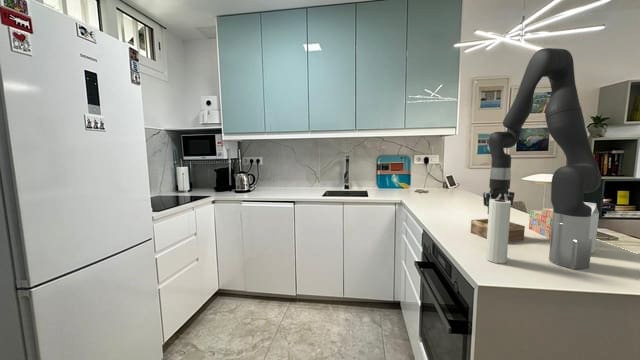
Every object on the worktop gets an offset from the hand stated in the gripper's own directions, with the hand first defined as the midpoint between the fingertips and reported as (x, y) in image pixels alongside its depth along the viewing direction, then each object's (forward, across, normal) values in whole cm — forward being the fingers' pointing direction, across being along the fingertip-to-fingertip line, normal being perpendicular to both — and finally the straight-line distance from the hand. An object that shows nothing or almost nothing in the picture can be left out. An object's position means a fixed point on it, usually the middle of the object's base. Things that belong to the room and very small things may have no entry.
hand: (497, 215), depth 117 cm
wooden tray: (+10, 0, 0) cm, 10 cm away
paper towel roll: (+10, -21, -22) cm, 32 cm away
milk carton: (+10, +16, -21) cm, 28 cm away
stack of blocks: (+10, +24, -4) cm, 26 cm away
